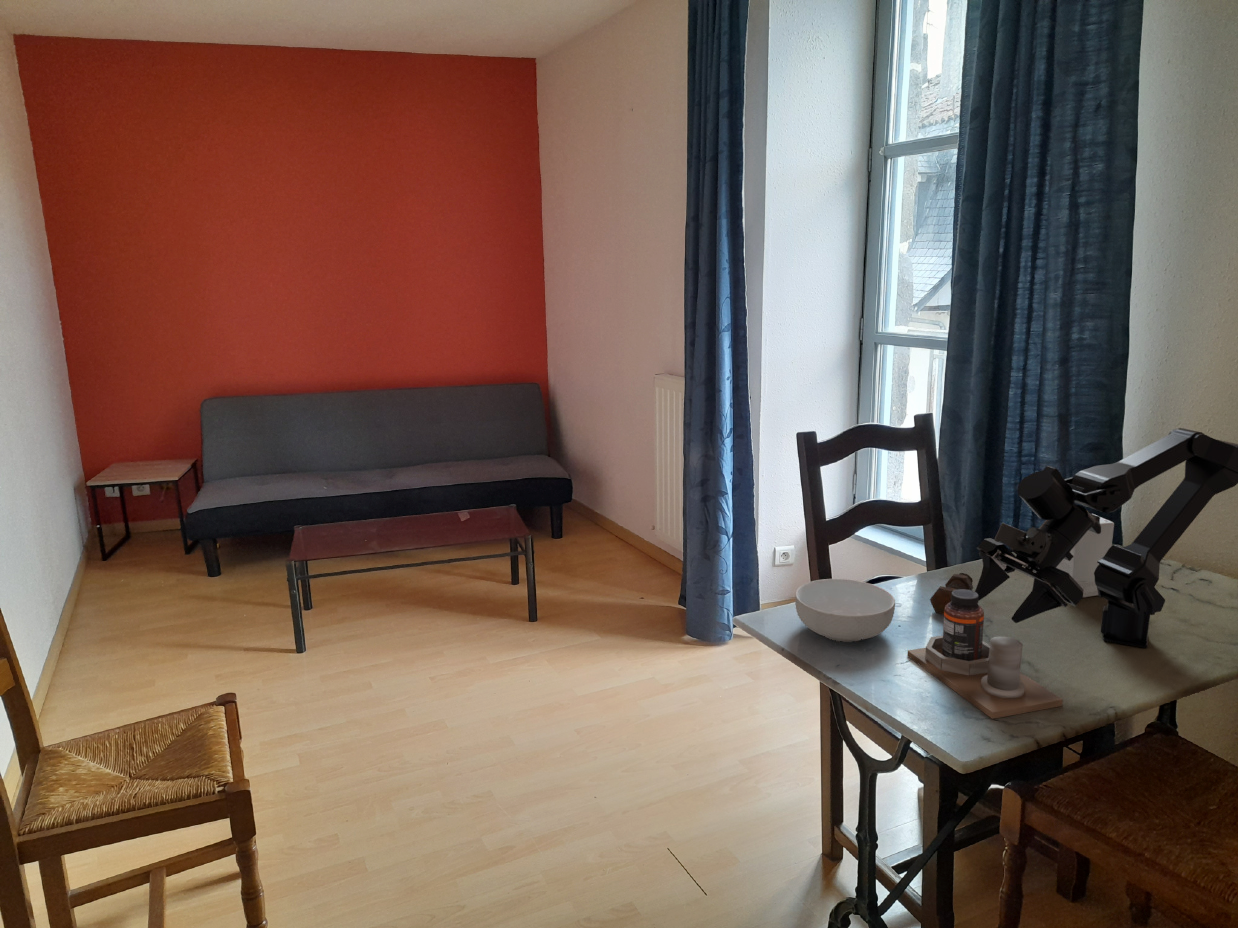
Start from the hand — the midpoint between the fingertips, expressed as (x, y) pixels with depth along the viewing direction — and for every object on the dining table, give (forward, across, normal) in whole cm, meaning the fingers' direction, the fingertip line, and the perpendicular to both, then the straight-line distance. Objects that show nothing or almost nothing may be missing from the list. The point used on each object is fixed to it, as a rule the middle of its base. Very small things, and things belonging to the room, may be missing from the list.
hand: (993, 609), depth 140 cm
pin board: (+10, +5, +2) cm, 12 cm away
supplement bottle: (+10, 0, +2) cm, 10 cm away
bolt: (0, -23, +14) cm, 27 cm away
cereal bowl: (+18, -17, -6) cm, 26 cm away
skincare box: (-18, -19, +31) cm, 41 cm away
